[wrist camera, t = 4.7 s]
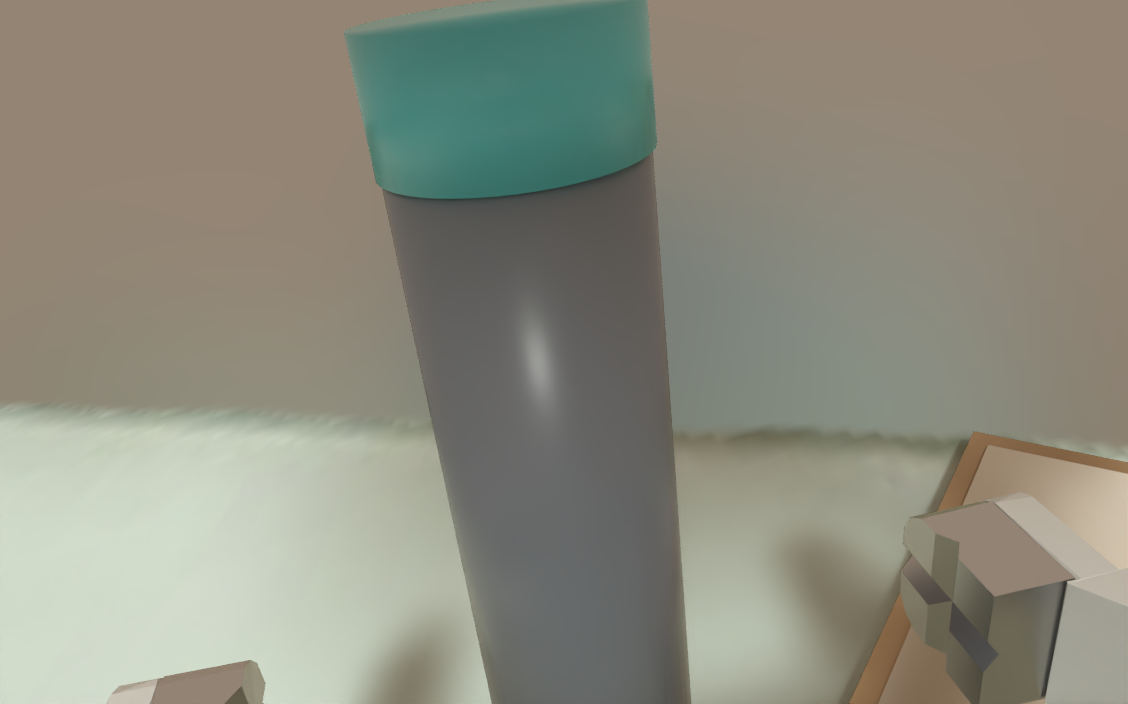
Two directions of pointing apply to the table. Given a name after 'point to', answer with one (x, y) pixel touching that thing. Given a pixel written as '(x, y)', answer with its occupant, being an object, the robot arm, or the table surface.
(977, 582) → the robot arm
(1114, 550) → the clipboard
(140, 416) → the table surface
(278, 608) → the table surface
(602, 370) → the marker
